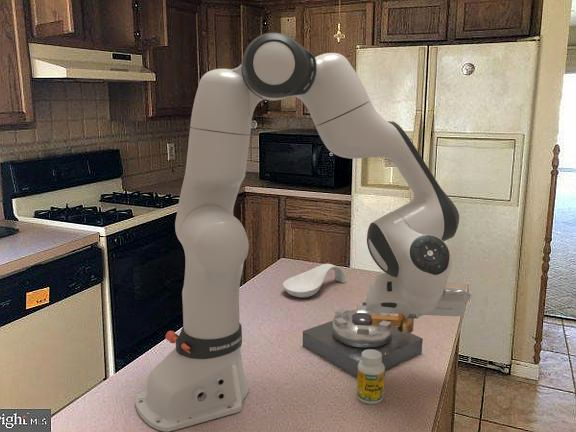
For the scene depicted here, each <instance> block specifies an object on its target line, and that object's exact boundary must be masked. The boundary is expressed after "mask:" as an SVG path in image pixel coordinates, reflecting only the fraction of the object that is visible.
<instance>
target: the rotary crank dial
mask: <svg viewBox="0 0 576 432" xmlns="http://www.w3.org/2000/svg"><path fill="white" fill-rule="evenodd" d="M332 321H333V336H334V337H335V338H336V339H337V340H338V341H340V342H342V343H344V344H347V345H351V346H355V347H366V348H367V347H378V346H382V345H385V344H387V343H388V342H389V341H390V340H391V339H392V328H393V326H396V327H398V328H397V329H398V330H399V331H400V332H403V333H413V332H414V325H415V323H414V322H415V319H414V318H405V315H403V314H397V315H391V314H390V313H370V312H368V311H367V310H366V306H363V305H359V304H357V305H356V309H351V310H348V309H346V308H343V307H340V308H338V309H337V310H335V312H334V316H333V318H332Z"/></svg>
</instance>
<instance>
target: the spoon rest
mask: <svg viewBox="0 0 576 432" xmlns="http://www.w3.org/2000/svg"><path fill="white" fill-rule="evenodd" d="M330 270H333V271H334V280H335V282H339V283H341V284H344V283H346V282H347V277H346V275H345V271H344V270H343V269H342V268H341V267H340V266H338V265H334V264H332V263H323V264H320V265H318V266H315V267H313V268H312V269H309V270H307V271H305V272H302V273H299V274H297V275H295V276H292V277H291V276H290V277H289V278H287V279H286V280H284V281H283V282H282V288H283V289H284V290H285V291H286V292H287V294H289V295H290V296H293V297H295V298H300V299H303V298H304V299H305V298H309V297H310V296H311V297H313V295H315V294H316V293H317V292H318V291H319V290H320V289H321V287H322V285H323V284H324V280H325V278H326V276H327V275H328V273H329V271H330Z"/></svg>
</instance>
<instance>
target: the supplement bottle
mask: <svg viewBox="0 0 576 432" xmlns="http://www.w3.org/2000/svg"><path fill="white" fill-rule="evenodd" d="M361 359H362V360H361V361H360V362H359V364H358V376H357V378H356V380H357V381H356V382H357V383H356V397H357V399H358V400H359V401H361V402H363V403H365V404H367V405H368V404H370V405H375V404H379V403H381V402H382V401H383V399H384V397H385V393H384V392H385V376H386V375H385V373H386V371H385V366H384V364H383V363H382V362H381V361H382V354H381V353H380V352H379V351H377V350H372V349H368V350H364V351H363V352H362V355H361Z"/></svg>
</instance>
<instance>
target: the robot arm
mask: <svg viewBox="0 0 576 432" xmlns="http://www.w3.org/2000/svg"><path fill="white" fill-rule="evenodd" d="M242 56H243V57H242V61H241V64H239V66H238V67H235V68H216V69H211V70H209V71H207V72H206V73H204V74H203V75H201V76H202V77H201V78H200V80H199V83H198V87H197V89H196V93H195V96H194V100H193V101H194V102H193V106H192V110H191V116H190V123H189V124H190V125H189V135H188V146H187V153H186V162H185V163H186V164H185V171H184V172H185V173H184V177H183V182H182V185H181V189H180V194H179V199H178V206H177V210H176V211H177V212H176V216H175V222H174V228H175V229H174V230H175V235H176V237H177V239H178V241H179V242H180V243H181V245H182V248H183V250H184V257H185V258H184V259H185V260H184V261H185V263H184V264H185V265H184V266H185V268H184V280H183V287H182V291H181V297H182V319H183V320H182V322H183V326H182V328H181V330H180V333H179V334H177V333H176V332H175V331H174V330H168V331H167V332H166V334H165V340H166V341H167V342H169V343H170V344H175V347H174V349H172V350H171V352H169V353H168V354H167V355H166V357H164V359H162V360H161V361H160V363H159V362H158V364H157V365H156V366H155V367H154V368H153V369H152V370H151V371H150V372H149V375H148V378H147V382H146V383H147V384H146V389H145V390H143V391H141V392H138V393H137V395H136V397H135V403H134V404H135V410H136V411H137V413H138V415H139V416H140V417H141V419H142V420H143V422H144V423H146V424H147V425H148V426H150V427H152V428H153V429H155V430H157V431H161V432H172V431H176V430H180V429H183V428H184V429H185V428H188V427H191V426H194V425H198V424H200V423H204V422H208V421H211V420H215V419H219V418H223V417H226V416H230V415H233V414H236V413H237V414H238V413H239V412H241V411H242V409H243V401H244V400H245V398H246V396H247V395H248V393H249V384H248V382H247V379H246V375H245V371H244V367H243V359H242V351H241V348H242V344H243V333H242V331H243V330H242V329H243V328H242V324H241V323H240V288H241V287H240V286H241V279H242V274H243V269H244V262H245V260H246V259H247V257H248V253H249V248H250V247H249V245H250V244H249V238H248V234H247V232H246V230H245V227H244V226H243V225H244V224H242V222H241V220H239V219H238V218H237V217H235V216H234V208H235V203H236V200H237V197H238V193H239V190H240V187H241V185H242V183H243V182H244V179H245V177H246V172H247V164H248V154H249V146H250V138H251V130H252V129H251V128H252V122H253V121H252V120H253V115H254V111H255V109H256V107H257V106H258V104H259V103H264V102H265V103H266V102H271V101H280V100H284V99H286V98H289V97H294V98H297V99H299V101H301V102H302V103H303V104H304V106H305V107H306V109H307V110H308V112H309V115H310V116H311V119H312V121H313V123H314V126H315V128H316V131H317V133H318V136H319V138H320V140H321V141H322V143H323V145H325V147H326V149H327V150H328V151H329V152H330V153H332V154H334V155H335V156H338V157H340V158H343V159H344V158H345V159H351V160H352V159H366V158H367V159H368V158H384V159H388V160H389V161H391V162H392V163H393V164H394V165H395V166H396V168H397V170H398V171H399V173H400V175H401V176H402V178H403V179H404V180H405V182H406V183H407V185H408V187H409V188H410V189H411V191H412V194H413V199H412V200H411V201H409V202H407V203H406V204H404V205H402V206H400V207H398V208H396V209H395V210H393V211H390V212H388V213H387V214H385V215H383V216H381V217H379V218H377V219H376V220H374V221H372V222H371V223H370V224H369V226H368V228H367V233H366V245H367V249H368V252H369V255H370V256H371V258H372V260H373V262H374V263H375V264H376V265H377V267H379V269H380V270H382V273H377V274H375V276H374V282H372V283H371V284H370V285H369V286H368V290H367V292H366V296H365V297H366V298H365V301H366V310H367V311H368V312H370V313H389V314H390V315H391V314H394V315H395V314H396V315H398V314H403V315H405V318H414V320H415V319H416V320H418V319H419V317H422V316H437V317H438V316H440V317H462V316H463V315H465V313H466V312H465V311H466V303H467V302H469V301H470V299H471V298H472V294H471V292H467V291H465V289H464V290H463V289H462V288H460V287H446V286H447V284H448V282H449V279H450V277H451V276H450V275H451V272H452V253H451V250H450V248H449V246H448V244H447V243H446V242H445V241H448V240H450V239H453V238H454V237H455V235H456V233H457V230H458V227H459V223H460V214H459V211H458V209H457V206H456V205H455V204H454V202H453V201H452V199H451V198H450V196H448V194H447V193H446V192H445V191H444V189H442V187H441V186H440V184H439V183H438V181H437V179H436V178H435V176H434V175H433V173H432V172H431V170H430V168H429V167H428V166H427V163H426V161H424V160H425V159H423V158H422V155H421V154H420V153H419V151H418V150H417V148H416V145H414V143H413V142H412V140H411V139H410V137H409V136H408V135H407V133H406V131H404V129H403V128H402V127H401V126H400V125H399V124H398V123H397V122H395V121H390V120H389V121H388V120H386V119H385V118H384V117H382V116H381V115H380V114H379V113H378V111H377V110H376V109H375V107H374V105H373V103H372V102H371V99H370V97H369V94H368V92H367V90H366V88H365V86H364V84H363V83H362V80H361V78H360V77H359V75H358V73H357V72H356V71H355V69H354V68H353V66H352V64H351V63H350V61H349V60H348V59H347V57H346V56H344V55H342V54H341V53H338V52H325V53H322V54H319V55H317V56H315V55H314V54H313V53H312V52H310V50H308V49H307V48H305V47H303V45H302V44H300V43H299V42H298V41H297V40H295V39H293V37H291V36H288V35H286V34H283V33H281V32H266V33H263V34H261V35H258V36H257V37H256V38H254V39H253V40H252V41H251V42H249V44H248V46H247V47H246V49H245V51H244V54H243V55H242Z"/></svg>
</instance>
